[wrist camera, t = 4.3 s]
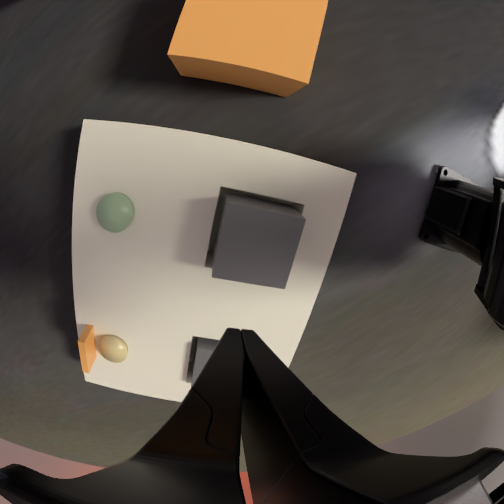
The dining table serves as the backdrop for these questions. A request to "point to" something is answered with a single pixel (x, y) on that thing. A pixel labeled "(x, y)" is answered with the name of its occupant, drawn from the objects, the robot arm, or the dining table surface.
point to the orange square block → (249, 42)
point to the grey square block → (202, 355)
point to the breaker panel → (184, 249)
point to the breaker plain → (256, 241)
